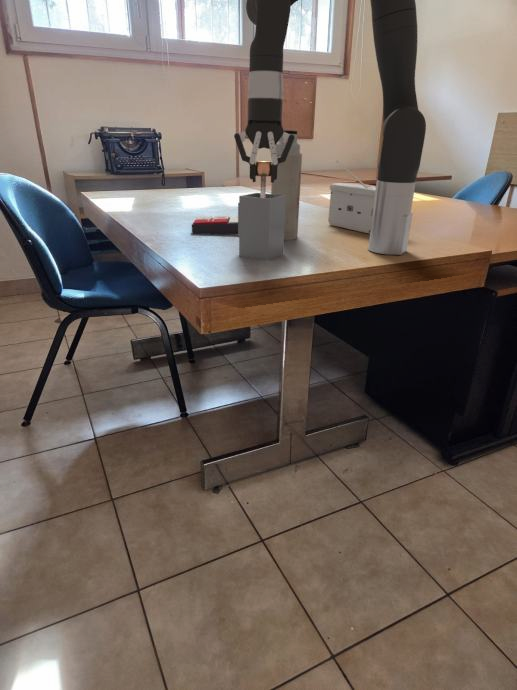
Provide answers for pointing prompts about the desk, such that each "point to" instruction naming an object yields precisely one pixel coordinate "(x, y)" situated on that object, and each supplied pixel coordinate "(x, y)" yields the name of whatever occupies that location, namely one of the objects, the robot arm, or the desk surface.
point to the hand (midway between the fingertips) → (263, 181)
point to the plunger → (263, 174)
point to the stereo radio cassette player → (351, 205)
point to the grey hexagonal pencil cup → (261, 225)
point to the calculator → (215, 225)
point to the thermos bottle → (289, 184)
